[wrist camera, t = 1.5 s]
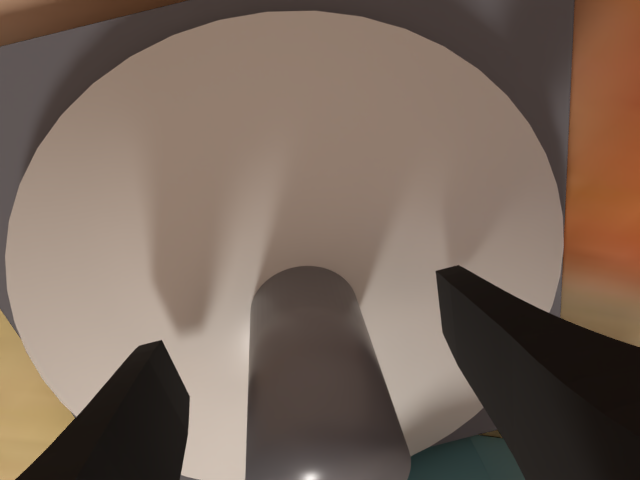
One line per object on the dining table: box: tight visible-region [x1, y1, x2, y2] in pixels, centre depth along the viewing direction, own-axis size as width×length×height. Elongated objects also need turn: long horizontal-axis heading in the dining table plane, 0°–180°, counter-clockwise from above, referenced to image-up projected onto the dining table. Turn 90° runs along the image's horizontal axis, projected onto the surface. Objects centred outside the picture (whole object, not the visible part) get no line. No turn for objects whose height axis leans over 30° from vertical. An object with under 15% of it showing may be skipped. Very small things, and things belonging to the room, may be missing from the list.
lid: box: [5, 11, 564, 480], centre depth 11 cm, size 15×15×6 cm
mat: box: [0, 0, 575, 480], centre depth 13 cm, size 16×16×1 cm
